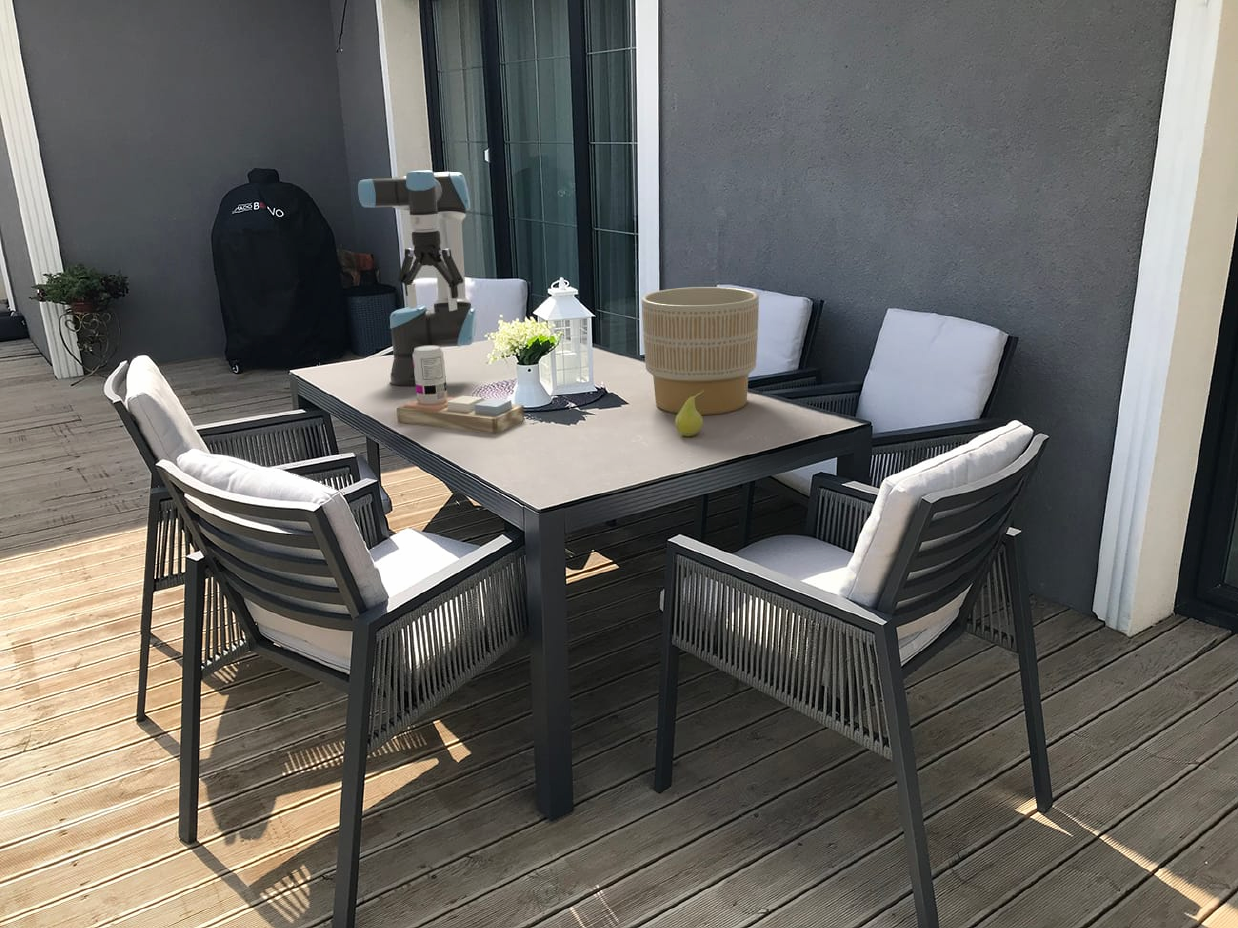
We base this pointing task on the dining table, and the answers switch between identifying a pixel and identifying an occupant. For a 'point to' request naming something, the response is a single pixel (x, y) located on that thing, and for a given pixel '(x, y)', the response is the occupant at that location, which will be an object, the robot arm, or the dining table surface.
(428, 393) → the supplement can
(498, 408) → the key slate
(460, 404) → the key ivory
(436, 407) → the key terracotta
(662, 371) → the planter
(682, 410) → the fruit
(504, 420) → the wooden compartment tray
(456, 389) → the dining table surface
